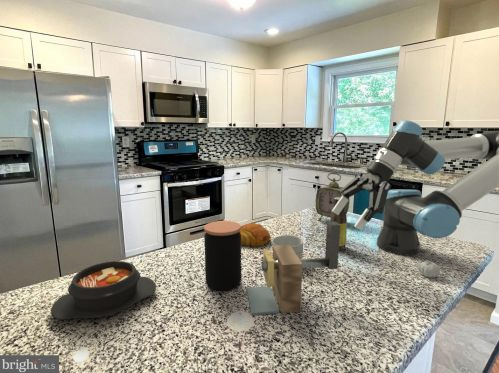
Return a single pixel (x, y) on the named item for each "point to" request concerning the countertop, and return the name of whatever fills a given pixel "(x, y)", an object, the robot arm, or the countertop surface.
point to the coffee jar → (222, 255)
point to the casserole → (103, 291)
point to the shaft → (330, 253)
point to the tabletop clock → (328, 198)
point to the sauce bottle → (342, 221)
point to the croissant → (254, 235)
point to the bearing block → (287, 279)
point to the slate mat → (262, 300)
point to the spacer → (268, 268)
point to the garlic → (429, 269)
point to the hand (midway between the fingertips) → (345, 220)
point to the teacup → (290, 243)
